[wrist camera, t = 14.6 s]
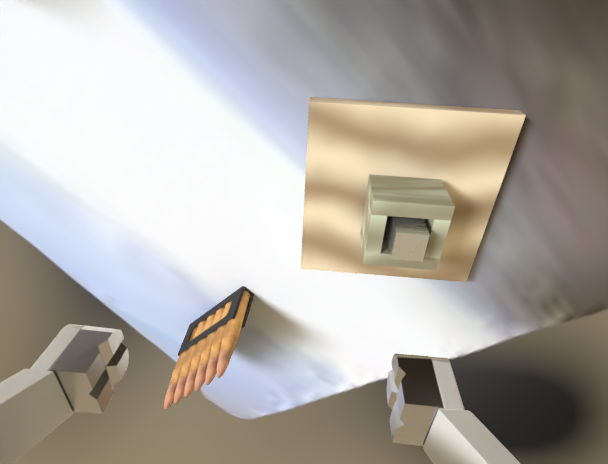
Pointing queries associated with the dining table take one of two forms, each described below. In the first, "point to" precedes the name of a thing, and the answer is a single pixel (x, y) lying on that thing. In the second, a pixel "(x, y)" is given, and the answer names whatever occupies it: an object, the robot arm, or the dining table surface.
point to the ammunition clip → (209, 345)
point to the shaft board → (404, 163)
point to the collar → (404, 203)
